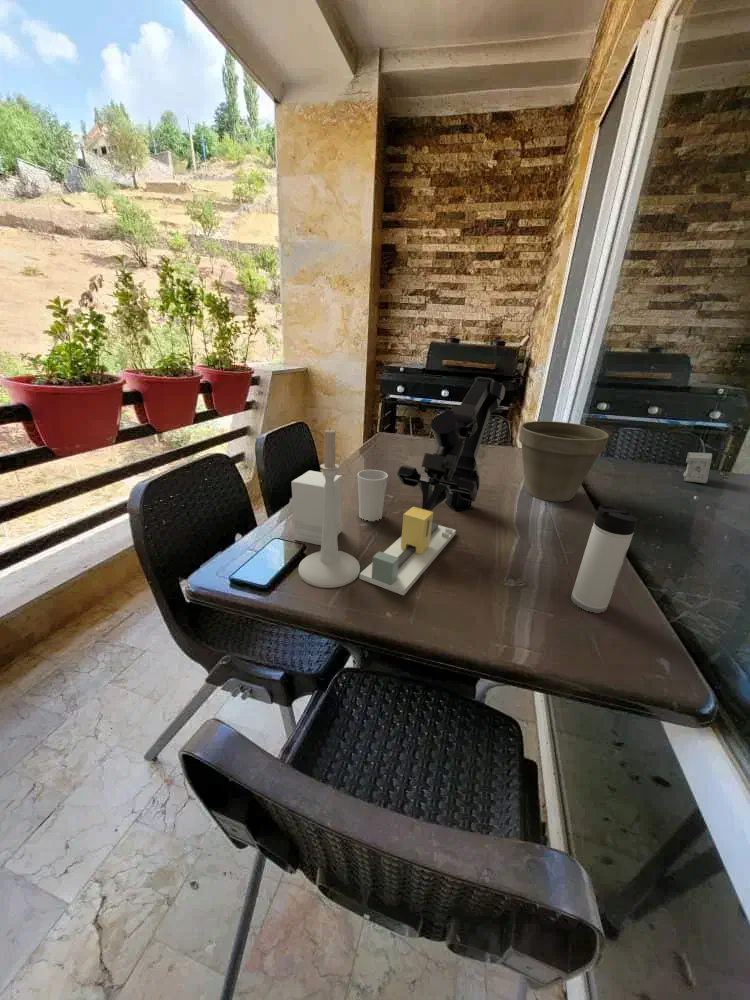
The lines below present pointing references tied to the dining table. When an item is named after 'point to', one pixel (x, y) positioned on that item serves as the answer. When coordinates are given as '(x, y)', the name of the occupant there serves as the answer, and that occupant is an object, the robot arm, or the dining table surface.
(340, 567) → the candlestick
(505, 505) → the dining table surface
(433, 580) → the dining table surface
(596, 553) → the travel mug
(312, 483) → the supplement box
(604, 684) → the dining table surface
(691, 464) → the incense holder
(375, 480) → the cup
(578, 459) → the plant pot
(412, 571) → the white slide rail base
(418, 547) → the yellow sliding block
